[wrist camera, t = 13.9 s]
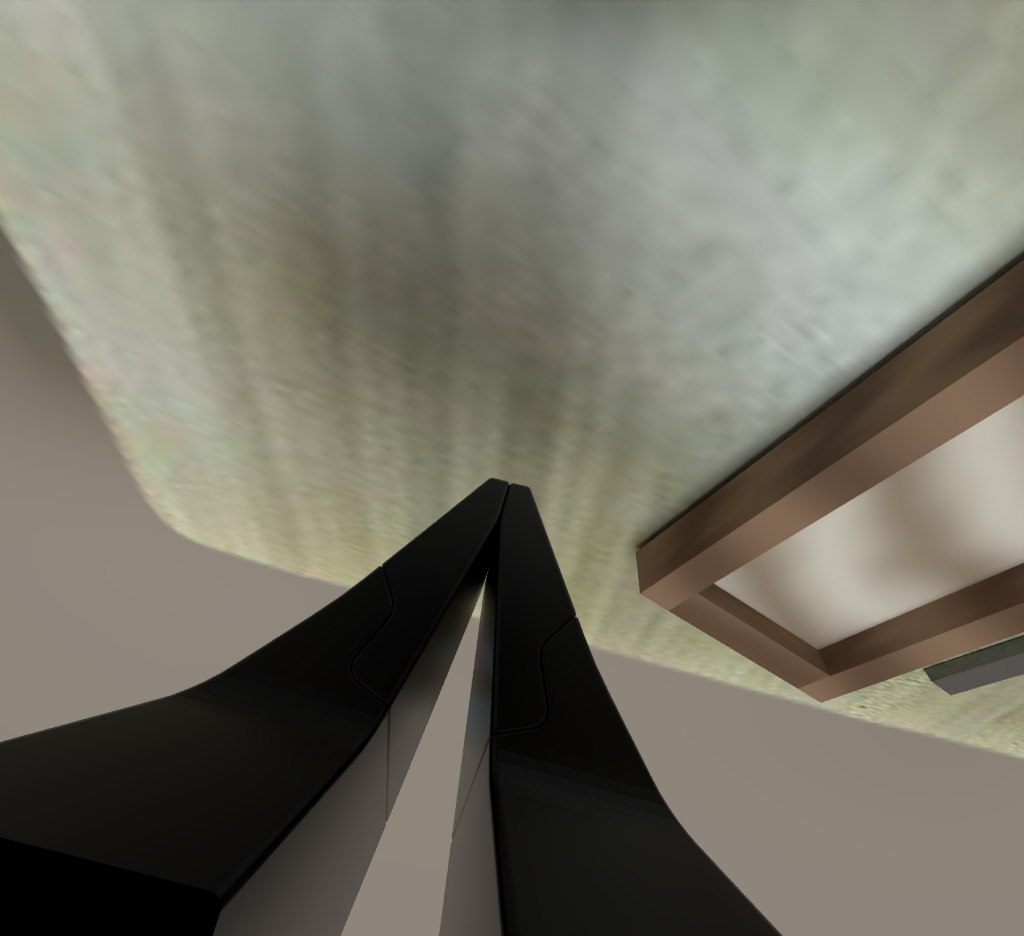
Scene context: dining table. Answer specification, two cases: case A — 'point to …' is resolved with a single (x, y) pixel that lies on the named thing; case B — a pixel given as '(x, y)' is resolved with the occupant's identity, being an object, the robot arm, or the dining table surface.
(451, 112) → the dining table surface
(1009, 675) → the strip
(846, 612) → the picture frame
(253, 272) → the dining table surface
